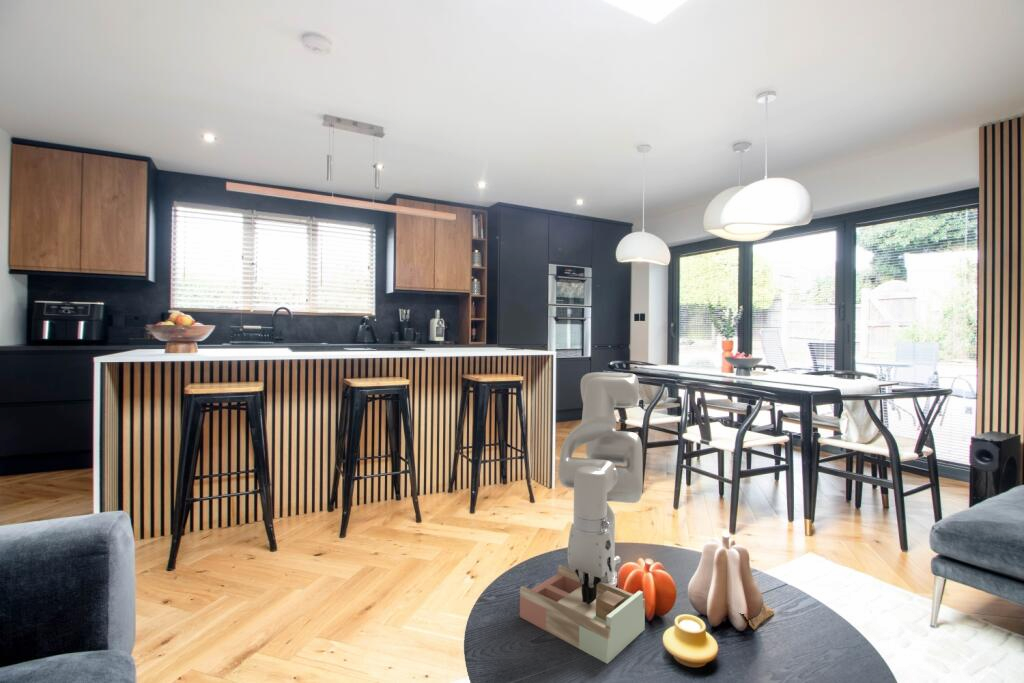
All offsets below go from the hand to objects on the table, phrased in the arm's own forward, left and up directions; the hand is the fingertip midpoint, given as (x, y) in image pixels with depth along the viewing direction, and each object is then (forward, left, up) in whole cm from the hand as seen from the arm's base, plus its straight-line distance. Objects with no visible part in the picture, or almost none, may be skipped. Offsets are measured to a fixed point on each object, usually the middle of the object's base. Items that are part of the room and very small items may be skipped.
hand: (589, 600), depth 111 cm
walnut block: (+1, +6, -1) cm, 6 cm away
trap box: (0, -2, -6) cm, 6 cm away
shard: (-32, +28, -7) cm, 43 cm away
